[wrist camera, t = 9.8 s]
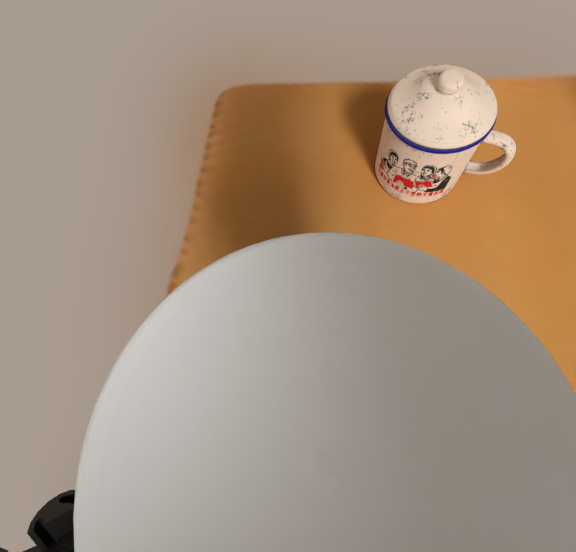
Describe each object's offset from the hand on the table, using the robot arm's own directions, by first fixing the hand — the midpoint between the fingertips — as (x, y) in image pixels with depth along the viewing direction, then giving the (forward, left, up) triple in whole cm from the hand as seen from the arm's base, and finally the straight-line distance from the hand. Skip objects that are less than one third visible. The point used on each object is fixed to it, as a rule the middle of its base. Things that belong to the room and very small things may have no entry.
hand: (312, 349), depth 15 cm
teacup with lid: (+9, -22, -18) cm, 30 cm away
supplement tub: (-3, +2, -7) cm, 7 cm away
